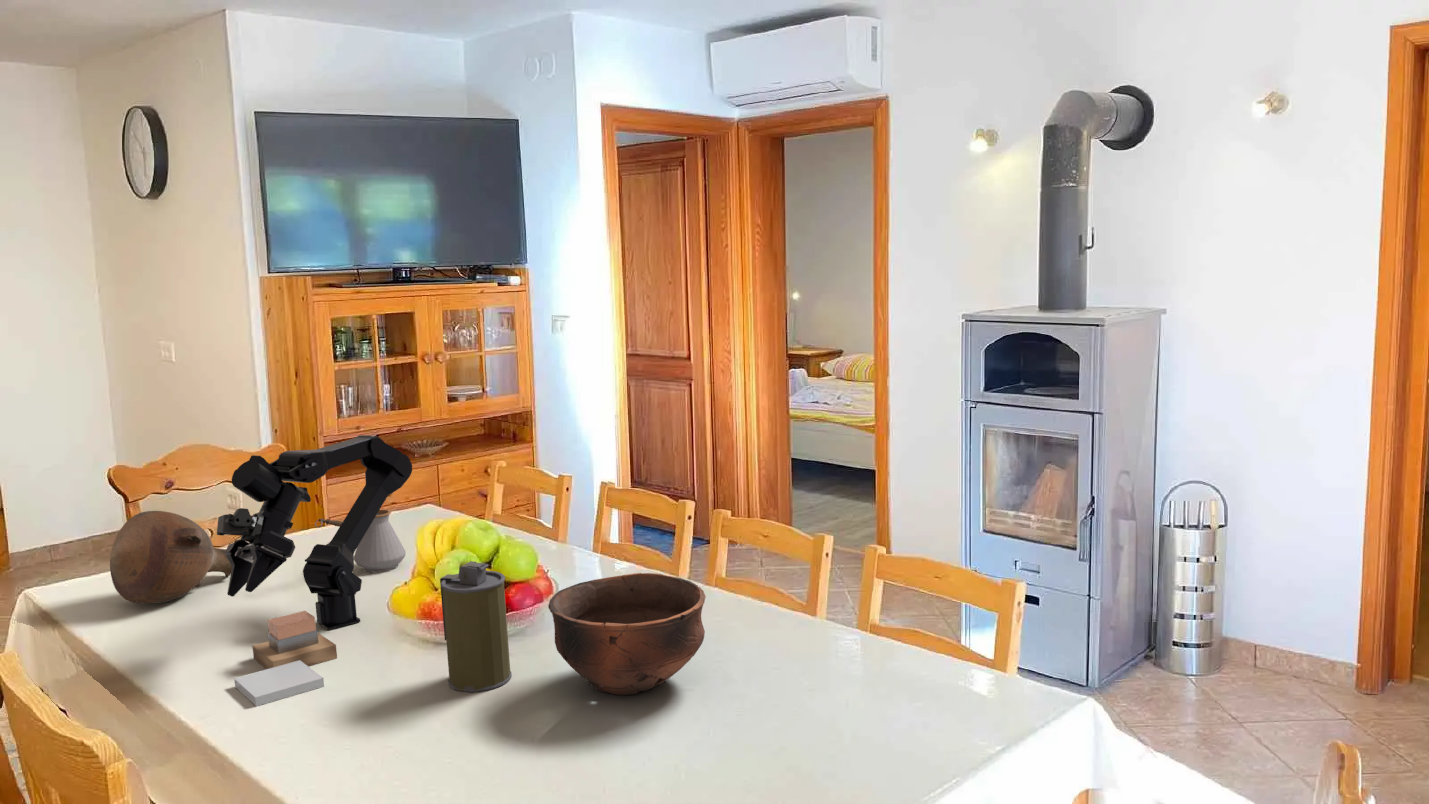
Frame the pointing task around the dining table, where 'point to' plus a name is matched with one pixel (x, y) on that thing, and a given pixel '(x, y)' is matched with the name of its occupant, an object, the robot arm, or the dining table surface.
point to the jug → (162, 557)
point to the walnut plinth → (295, 654)
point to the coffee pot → (377, 544)
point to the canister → (475, 628)
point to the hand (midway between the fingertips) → (238, 593)
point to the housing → (292, 632)
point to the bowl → (628, 629)
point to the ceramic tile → (278, 682)
